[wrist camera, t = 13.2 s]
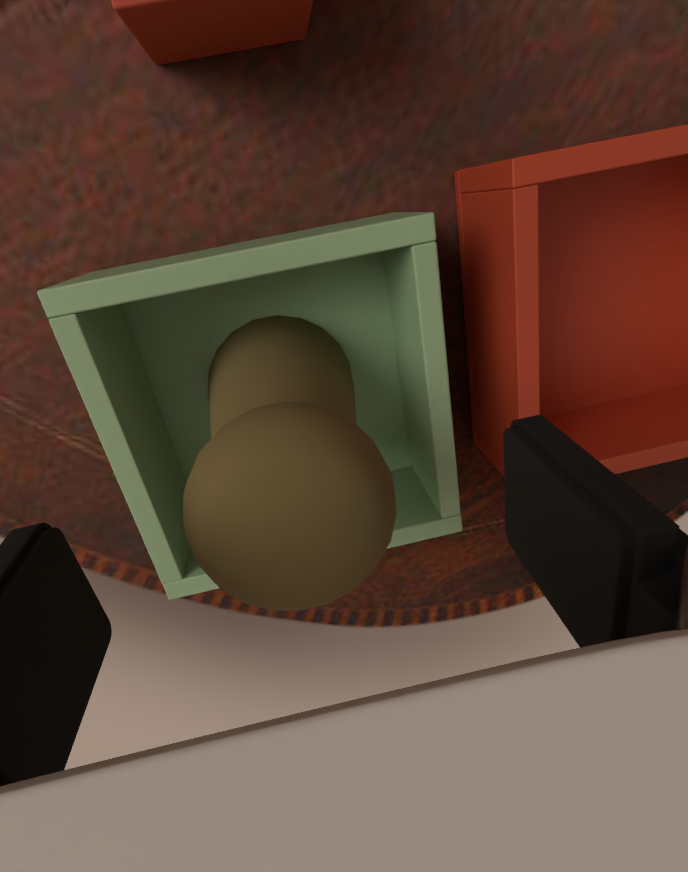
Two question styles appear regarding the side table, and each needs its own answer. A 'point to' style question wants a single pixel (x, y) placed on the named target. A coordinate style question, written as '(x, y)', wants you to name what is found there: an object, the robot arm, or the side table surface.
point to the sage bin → (234, 307)
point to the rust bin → (580, 296)
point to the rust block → (211, 25)
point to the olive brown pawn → (286, 472)
